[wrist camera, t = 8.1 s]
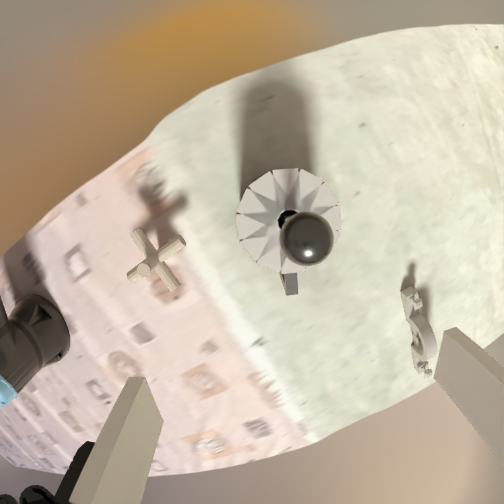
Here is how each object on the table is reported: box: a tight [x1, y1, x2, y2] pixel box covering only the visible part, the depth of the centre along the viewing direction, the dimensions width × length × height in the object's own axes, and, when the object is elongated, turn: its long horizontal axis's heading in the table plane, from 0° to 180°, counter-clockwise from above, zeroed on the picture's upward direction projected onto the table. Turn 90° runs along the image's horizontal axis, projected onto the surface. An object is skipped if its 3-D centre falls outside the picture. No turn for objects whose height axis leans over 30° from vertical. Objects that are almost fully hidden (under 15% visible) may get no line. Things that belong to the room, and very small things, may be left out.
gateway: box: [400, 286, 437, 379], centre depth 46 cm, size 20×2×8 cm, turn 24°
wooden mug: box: [236, 168, 341, 295], centre depth 37 cm, size 11×14×14 cm
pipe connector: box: [127, 228, 186, 292], centre depth 40 cm, size 10×10×10 cm
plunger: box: [278, 210, 334, 266], centre depth 30 cm, size 8×8×22 cm
